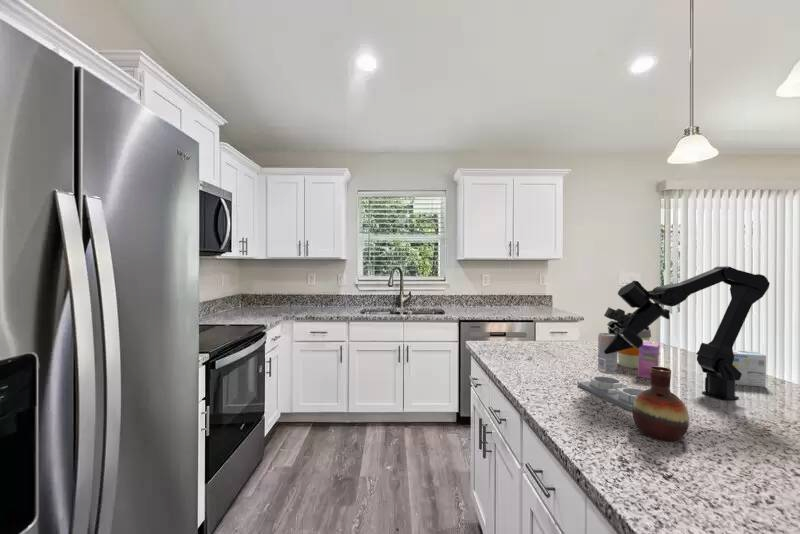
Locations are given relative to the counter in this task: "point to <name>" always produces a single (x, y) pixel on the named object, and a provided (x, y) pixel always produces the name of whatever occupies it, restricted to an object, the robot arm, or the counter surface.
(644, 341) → the box
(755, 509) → the counter surface
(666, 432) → the vase
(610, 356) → the energy drink
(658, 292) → the robot arm
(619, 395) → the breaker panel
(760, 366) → the light bulb box
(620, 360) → the reusable coffee cup
